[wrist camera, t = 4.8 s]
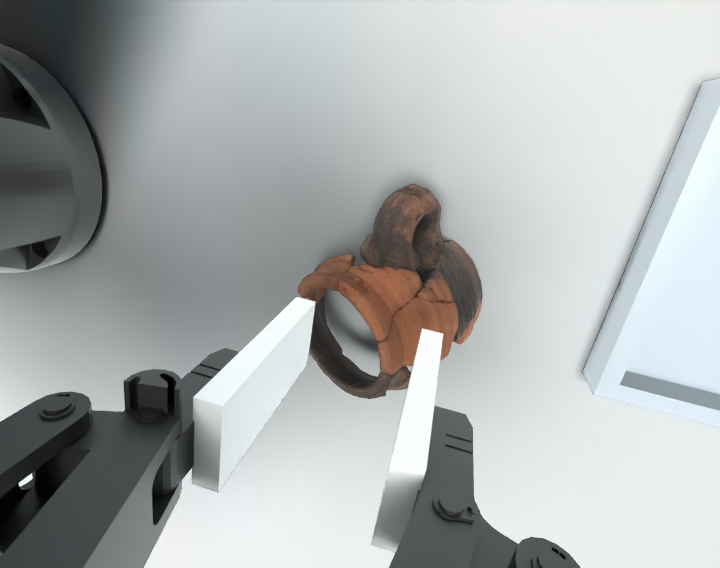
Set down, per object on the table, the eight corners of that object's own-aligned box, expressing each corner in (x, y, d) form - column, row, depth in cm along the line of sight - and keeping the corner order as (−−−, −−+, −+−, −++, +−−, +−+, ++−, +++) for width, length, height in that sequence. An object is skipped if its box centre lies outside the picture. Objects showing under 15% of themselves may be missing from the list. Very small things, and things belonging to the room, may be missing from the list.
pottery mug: (479, 366, 27) (400, 447, 22) (369, 305, 32) (283, 357, 27) (526, 186, 21) (430, 239, 16) (379, 144, 26) (269, 174, 21)
